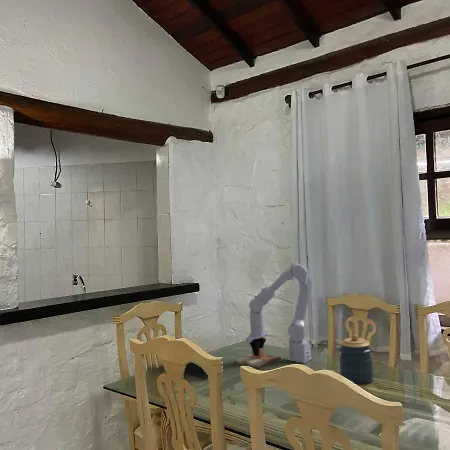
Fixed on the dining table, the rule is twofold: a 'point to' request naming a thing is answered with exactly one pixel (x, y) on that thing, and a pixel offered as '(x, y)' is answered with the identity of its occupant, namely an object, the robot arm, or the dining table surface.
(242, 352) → the dining table surface
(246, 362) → the ticket board
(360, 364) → the canister
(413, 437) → the dining table surface
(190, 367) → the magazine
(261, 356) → the stub
